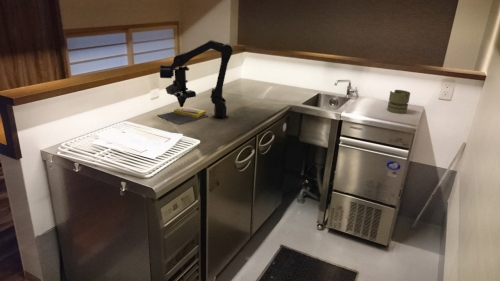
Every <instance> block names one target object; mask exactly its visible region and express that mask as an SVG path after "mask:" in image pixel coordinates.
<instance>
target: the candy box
mask: <svg viewBox="0 0 500 281" xmlns="http://www.w3.org/2000/svg"><path fill="white" fill-rule="evenodd" d="M173 112H174V113H176V114H181V115H186V116H191V117H196V118H198V117H200V116H202V115H204V114H205V115H207V111H206V110H205V109H204V110H203V109H198V108H193V107H190V106H189V107H188V106H184V105H183V107H180V106H179V107H178V108H175V109H173Z"/></svg>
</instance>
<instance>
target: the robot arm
mask: <svg viewBox="0 0 500 281" xmlns="http://www.w3.org/2000/svg"><path fill="white" fill-rule="evenodd" d="M211 49H212V50H214V51H215V52H219V53H220V55H221V57H220V64H219V71H218V76H217V80H216V85H215V87H212V89H211V93H210V100H211V103H212V104H213V105H214V108H213V109H214V110H213V114H214V115H212V117H213V118H215V119H219V120H222V119H226V118H228V117H229V115H227V106H226V103H227V100H226V99H225V97H223V91H224V90H223V88H224V87H223V86H224V83H225V78H226V74H227V69H228V63H229V61H230V59H231V57H232V55H233V49H234V48H233V46H232V45H231V44H230V43H223V42H218V41H216V40H214V39H209V40H208V41H206V42H205V43H202V44H200V45H199V46H196V47H195V48H193V49H191V50H188V51H183V52H181V53H177V54H176V55H175V56H174V57H173V60H172V61H173V62H172V63H171V64H170V65H166V64H160V69H159V77H160V78H161V79H172V78H173V77H174V79H173V80H172V84H170V85H168V86H166V87H165V91H166V93H167V94H168V95H169V96H170V95H171V96H174V97H175V98H176V99H177V101H178V104H179V108H180V107H183V106H184V105H185V103H186V101H187V99H190V98H195V97H197V93H196V91H194V90H191V89H189V88H188V87H187V83H188V82H189V81H188V80H187V73H186V72H187V71H188V72H189V70H190V68H189V67H188V66H187V65H186V64H187V63H188V62H189V61H190V60H192V59H194V58H196V57H197V56H199V55H201V54H203V53H205V52H208V51H209V50H211Z"/></svg>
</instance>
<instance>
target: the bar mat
mask: <svg viewBox="0 0 500 281" xmlns="http://www.w3.org/2000/svg"><path fill="white" fill-rule="evenodd" d="M156 115H157V117H159V118H161V119H164V120H166V121H168V122H171V123H173V124H175V125H178V126H179V125H182V124H183V125H184V124H186V123H191V122H195V121H198V120H201V119H202V120H203V119H205V118H209V115H208V114H204V115H202V116H200V117H198V118H196V117H191V116H186V115H181V114H176V113H174V111H171V112H165V113H161V114H156Z"/></svg>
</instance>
